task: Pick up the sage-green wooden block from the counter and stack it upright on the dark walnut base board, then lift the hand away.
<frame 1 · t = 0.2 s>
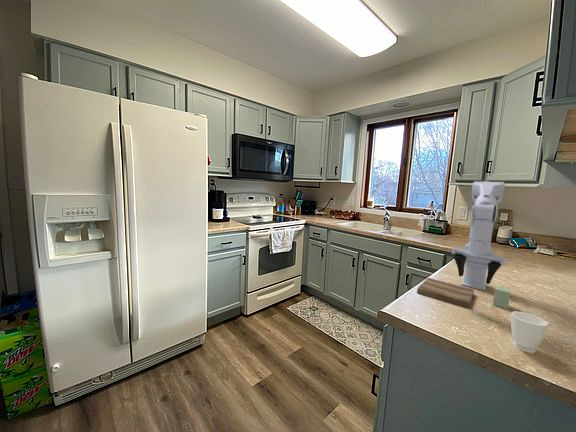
hand: (474, 279, 82), 10 cm above the counter, fingers open, 7 cm apart
cup: (522, 345, 64), on the counter
base board: (445, 293, 94), on the counter
block: (500, 305, 86), on the counter
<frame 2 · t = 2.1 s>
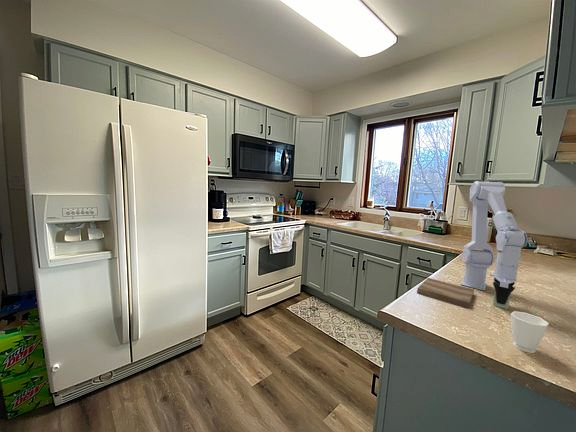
hand: (500, 301, 86), 1 cm above the counter, fingers closed on block, 4 cm apart
block: (500, 305, 86), on the counter, touching gripper
everything else where it was.
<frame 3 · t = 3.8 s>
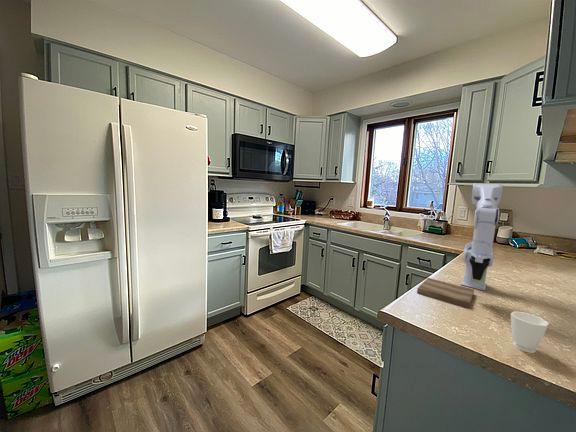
hand: (477, 277, 89), 8 cm above the counter, fingers closed on block, 4 cm apart
block: (477, 282, 89), point 7 cm above the counter, touching gripper
everything else where it was.
when the fingers open (4 cm above the counter, at t = 5.5 s): block stays where it is, resting on base board.
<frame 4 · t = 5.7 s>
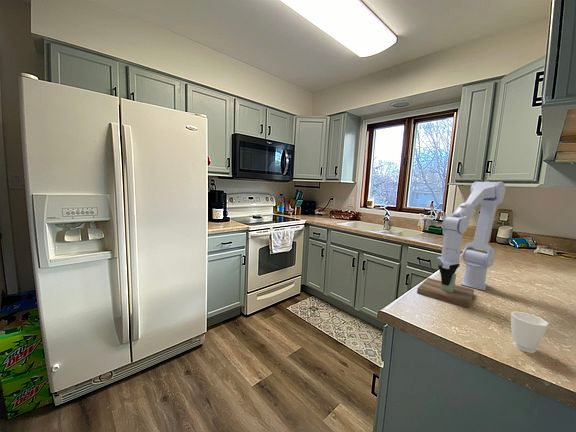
hand: (446, 282, 93), 4 cm above the counter, fingers open, 5 cm apart
block: (447, 289, 93), point 2 cm above the counter, touching base board
everything else where it was.
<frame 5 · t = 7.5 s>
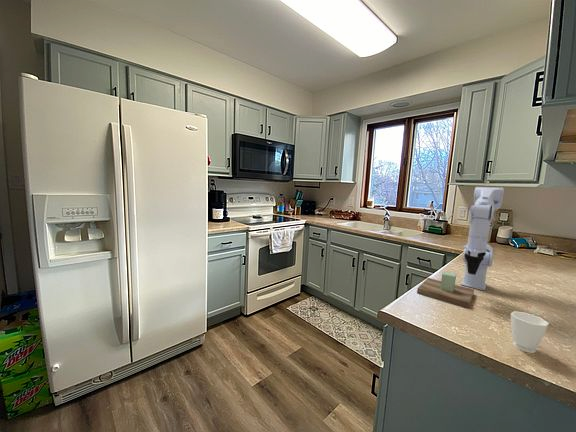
hand: (472, 271, 92), 9 cm above the counter, fingers open, 7 cm apart
nothing on the counter moved.
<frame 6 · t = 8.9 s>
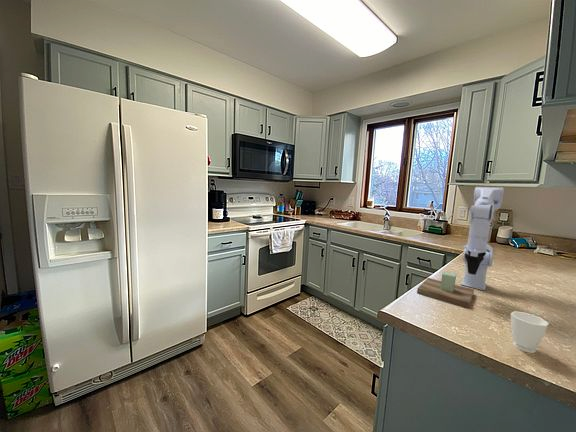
hand: (473, 271, 92), 9 cm above the counter, fingers open, 7 cm apart
nothing on the counter moved.
at the end: block inside the target area on the base board (0.4 cm from its centre), point 2.0 cm above the base board's base; block tilted 0°; the gripper is holding nothing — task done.
